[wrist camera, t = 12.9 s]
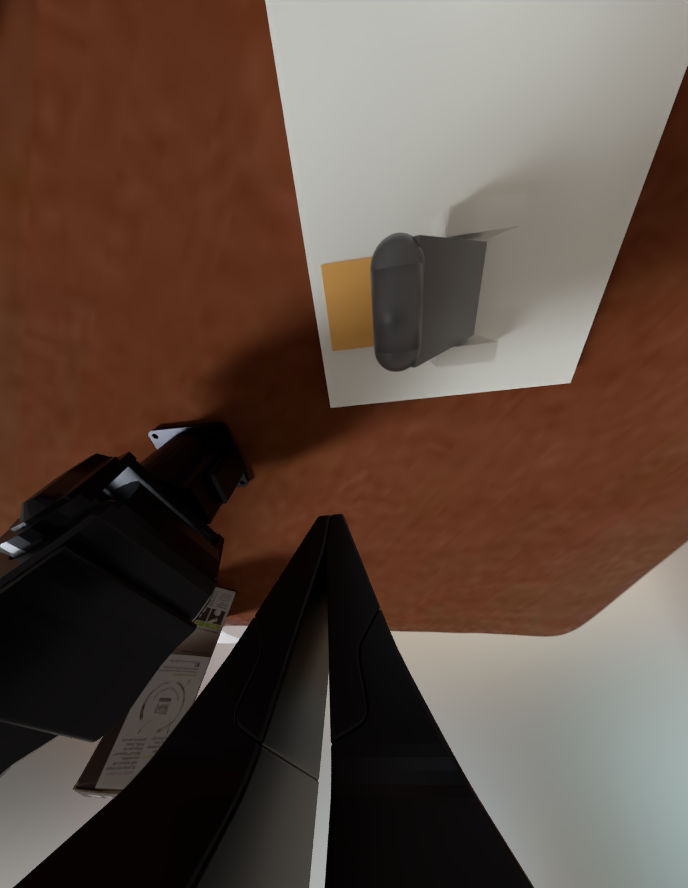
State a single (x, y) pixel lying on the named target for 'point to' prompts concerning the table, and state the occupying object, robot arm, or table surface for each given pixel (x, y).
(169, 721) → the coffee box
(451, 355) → the breaker panel
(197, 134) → the table surface
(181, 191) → the table surface
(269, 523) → the table surface
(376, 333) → the breaker lever
